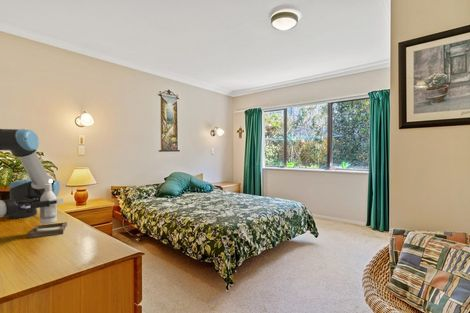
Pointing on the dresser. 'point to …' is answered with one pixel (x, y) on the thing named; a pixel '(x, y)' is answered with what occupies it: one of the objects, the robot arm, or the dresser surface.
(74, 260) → the dresser surface
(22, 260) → the dresser surface
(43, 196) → the bath foam
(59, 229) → the tray
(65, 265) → the dresser surface
